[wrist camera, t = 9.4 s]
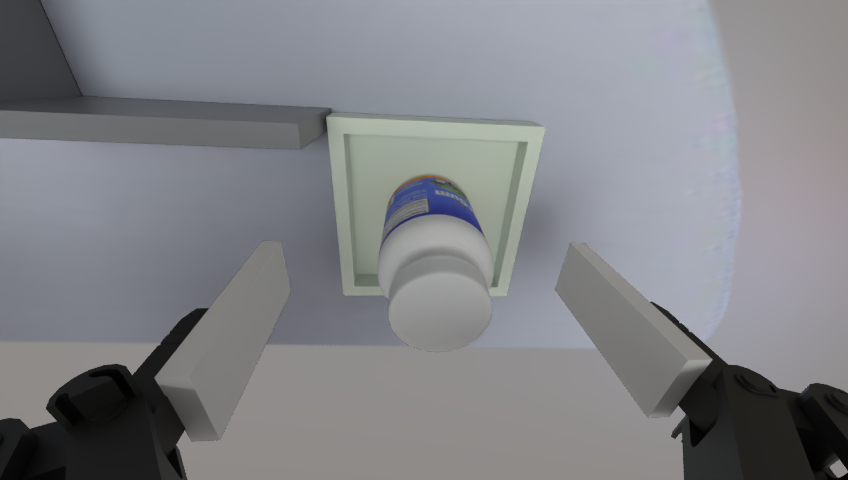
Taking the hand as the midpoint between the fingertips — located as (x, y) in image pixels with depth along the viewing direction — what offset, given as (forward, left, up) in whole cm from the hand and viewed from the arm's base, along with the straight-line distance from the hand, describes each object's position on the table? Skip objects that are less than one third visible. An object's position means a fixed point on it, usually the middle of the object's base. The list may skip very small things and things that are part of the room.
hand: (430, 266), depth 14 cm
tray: (0, 0, -7) cm, 7 cm away
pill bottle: (0, 0, -7) cm, 7 cm away
